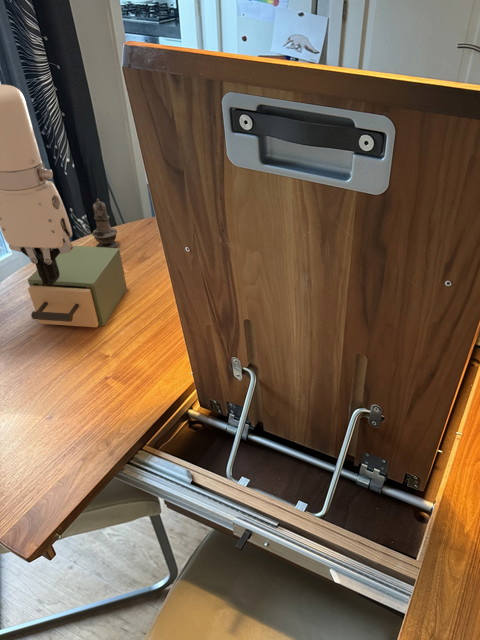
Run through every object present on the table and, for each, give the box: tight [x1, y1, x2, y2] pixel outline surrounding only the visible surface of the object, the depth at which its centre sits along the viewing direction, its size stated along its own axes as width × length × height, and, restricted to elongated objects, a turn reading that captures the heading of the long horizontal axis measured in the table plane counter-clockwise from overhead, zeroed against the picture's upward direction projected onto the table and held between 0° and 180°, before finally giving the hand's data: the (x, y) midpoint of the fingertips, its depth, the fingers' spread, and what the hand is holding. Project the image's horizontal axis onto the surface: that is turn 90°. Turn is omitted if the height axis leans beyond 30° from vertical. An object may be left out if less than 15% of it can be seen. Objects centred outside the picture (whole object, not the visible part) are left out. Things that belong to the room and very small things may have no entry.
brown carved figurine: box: [91, 198, 119, 248], centre depth 124 cm, size 6×6×12 cm
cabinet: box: [27, 245, 128, 327], centre depth 104 cm, size 15×13×10 cm
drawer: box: [27, 284, 99, 328], centre depth 101 cm, size 18×11×8 cm, turn 175°
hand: (51, 280), depth 92 cm, fingers closed
